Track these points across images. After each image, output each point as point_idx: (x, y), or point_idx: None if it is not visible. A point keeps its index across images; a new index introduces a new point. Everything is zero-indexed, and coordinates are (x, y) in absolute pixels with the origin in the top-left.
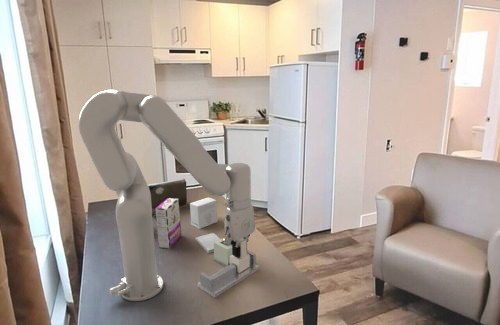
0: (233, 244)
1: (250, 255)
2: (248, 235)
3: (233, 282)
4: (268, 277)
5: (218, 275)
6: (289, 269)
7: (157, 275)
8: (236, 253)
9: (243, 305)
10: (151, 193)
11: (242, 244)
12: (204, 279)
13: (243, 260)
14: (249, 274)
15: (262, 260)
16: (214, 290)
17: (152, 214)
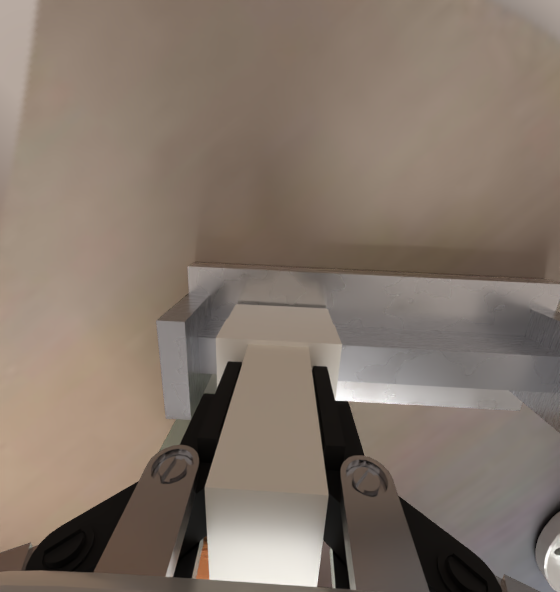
0: (434, 534)
1: (190, 344)
2: (92, 537)
3: (414, 277)
4: (217, 163)
5: (486, 361)
6: (52, 105)
7: (550, 558)
8: (343, 409)
9: (531, 101)
10: None
11: (301, 452)
12: None
13: (291, 334)
14: (276, 267)
15: (116, 302)
16: (533, 308)
17: None
